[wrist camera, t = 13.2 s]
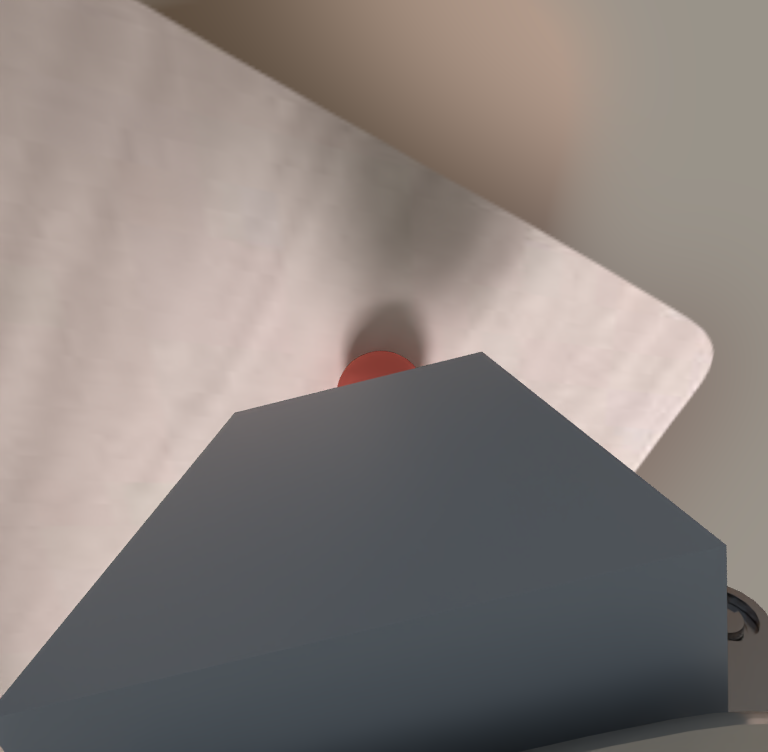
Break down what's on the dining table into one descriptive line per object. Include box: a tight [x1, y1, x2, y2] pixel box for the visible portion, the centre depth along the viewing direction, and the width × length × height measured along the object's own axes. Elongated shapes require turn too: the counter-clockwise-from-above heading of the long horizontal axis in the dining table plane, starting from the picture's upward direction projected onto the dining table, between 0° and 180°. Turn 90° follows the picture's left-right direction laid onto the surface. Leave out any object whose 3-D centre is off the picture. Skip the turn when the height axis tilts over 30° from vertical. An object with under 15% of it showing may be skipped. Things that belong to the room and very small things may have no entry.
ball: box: [338, 351, 416, 387], centre depth 24 cm, size 5×5×5 cm
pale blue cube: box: [0, 352, 728, 752], centre depth 9 cm, size 8×8×9 cm
